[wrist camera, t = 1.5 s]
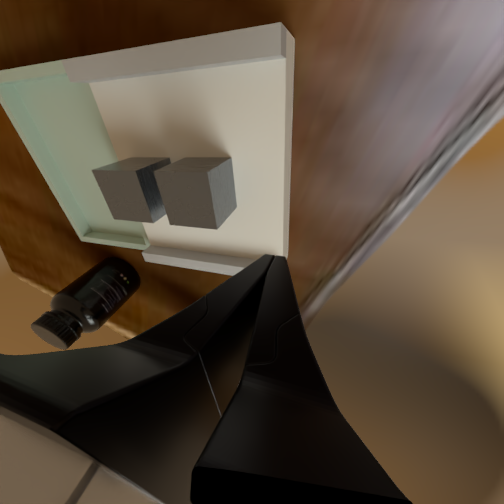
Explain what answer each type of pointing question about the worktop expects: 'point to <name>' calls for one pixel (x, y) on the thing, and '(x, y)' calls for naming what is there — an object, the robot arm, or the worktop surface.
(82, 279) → the supplement bottle
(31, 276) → the worktop surface
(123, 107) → the channel
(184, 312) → the robot arm
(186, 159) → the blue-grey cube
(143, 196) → the gray cube
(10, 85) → the tray
